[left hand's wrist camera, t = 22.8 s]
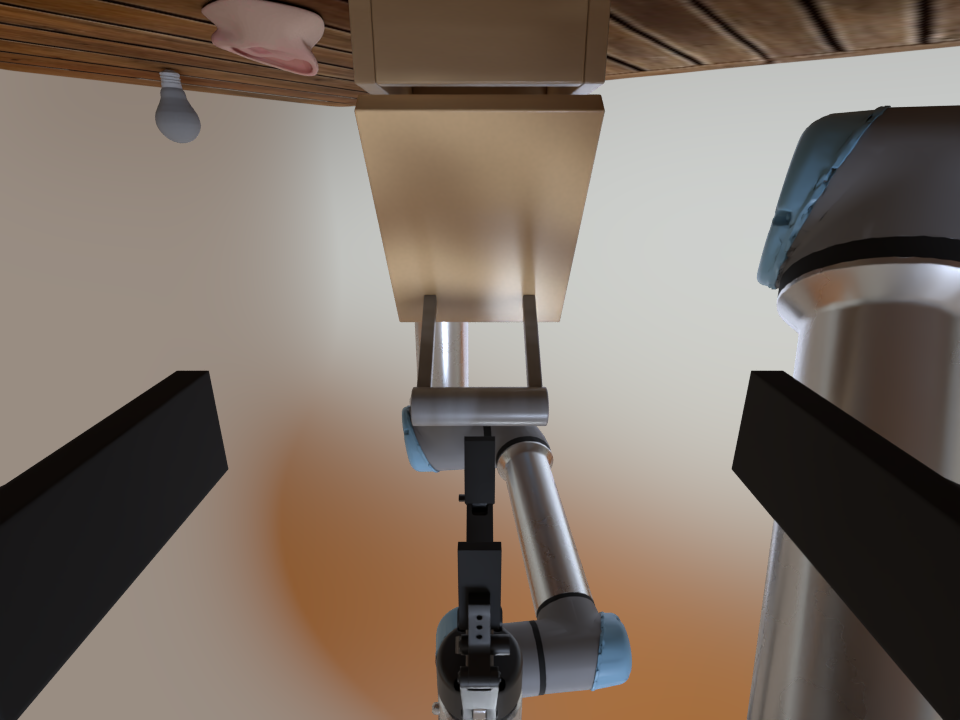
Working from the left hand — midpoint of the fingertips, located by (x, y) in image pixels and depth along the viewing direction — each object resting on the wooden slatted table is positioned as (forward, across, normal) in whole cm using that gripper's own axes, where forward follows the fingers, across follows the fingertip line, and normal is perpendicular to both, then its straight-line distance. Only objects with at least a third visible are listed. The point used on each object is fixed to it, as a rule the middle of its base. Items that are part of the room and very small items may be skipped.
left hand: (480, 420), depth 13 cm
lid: (+15, 0, -3) cm, 16 cm away
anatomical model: (+48, +21, -20) cm, 56 cm away
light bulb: (+75, +46, -20) cm, 91 cm away
